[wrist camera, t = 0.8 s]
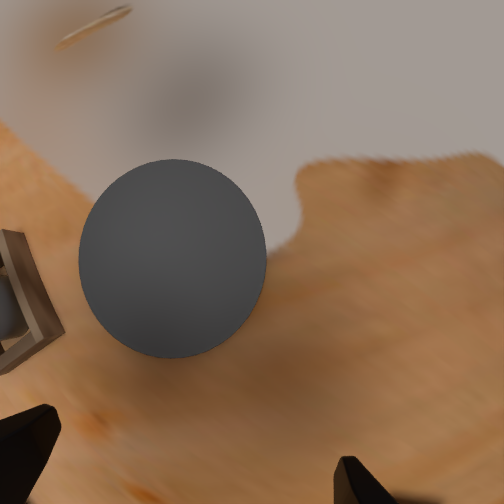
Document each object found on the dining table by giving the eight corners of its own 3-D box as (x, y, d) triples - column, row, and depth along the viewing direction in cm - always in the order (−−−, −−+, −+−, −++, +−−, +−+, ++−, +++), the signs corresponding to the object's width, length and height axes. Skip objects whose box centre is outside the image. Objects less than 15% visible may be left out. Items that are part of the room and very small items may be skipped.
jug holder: (65, 332, 23) (43, 338, 20) (7, 372, 23) (-12, 379, 20) (23, 233, 23) (1, 228, 20) (-27, 285, 23) (-48, 285, 20)
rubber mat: (211, 389, 22) (209, 392, 21) (60, 296, 23) (55, 296, 22) (300, 212, 22) (302, 210, 22) (135, 137, 23) (131, 134, 22)
